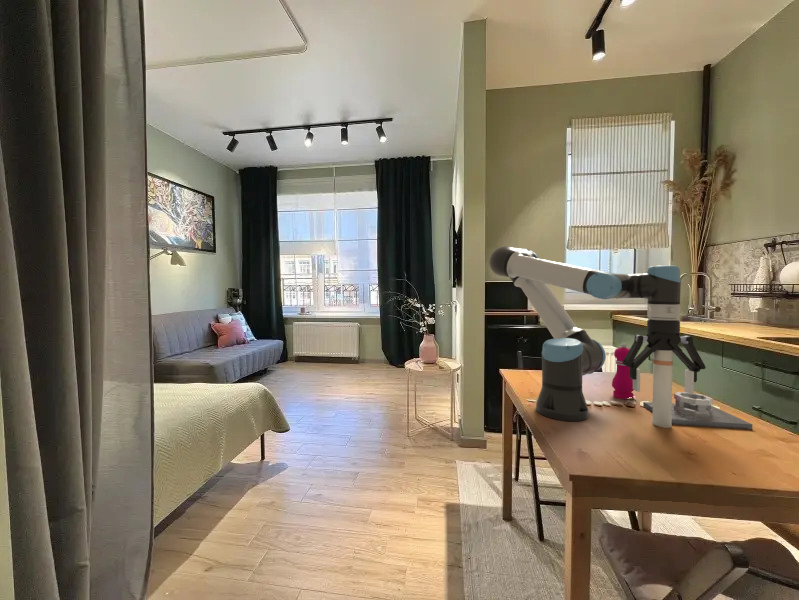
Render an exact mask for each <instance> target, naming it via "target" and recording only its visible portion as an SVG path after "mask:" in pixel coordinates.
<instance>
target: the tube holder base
mask: <svg viewBox="0 0 799 600" xmlns="http://www.w3.org/2000/svg"><path fill="white" fill-rule="evenodd" d="M673 398H674V400H675V403H672V425H676V426H691V427H692V426H693V427H694V426H695V427H708V428H721V429H724V428H725V429H737V430H750V429H752V430H753V424H752V423H750V422H749V421H747V420H744V419H741V418H740V417H737V416H735V415H733V414H732V413H729V412H727V411H724V410H722V409H721V408H720V409H719V408H717V407H716V406H713V404H714V403H713V402H714V399H713V398H712V397H710V396H709V395H708V396H707V395H705V394H700V393H695V392H694V394H689V393H686V392H684V391H677V392H675V393H674V394H673ZM642 403H643V408H645V409H646V410H648V411H650V412H652V413H653V401H652V402H650V401H643V402H642Z"/></svg>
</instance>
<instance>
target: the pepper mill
mask: <svg viewBox="0 0 799 600" xmlns="http://www.w3.org/2000/svg"><path fill="white" fill-rule="evenodd" d="M620 346H621V347H618V348H616V349H615V350H614V352H613V354H614V358H615V365H616V372H615V374H614V376H613V378H612V381H611V386H612V388H613V389H614V390H613V392H612V393H613V394H612V395H613V397H614V398H616V399H620V400H626V399H625V398H629V397H632V398H633V399H634V396H635V395H634V392H633V391H635V390H633V379H631V378H630V368H629V367H628V366H625V365H623V364H622V362H623V360H624V359H625V357H626V355H627V353H628V352H629V350H630V348H628V346H627V344H626V343H621V344H620Z"/></svg>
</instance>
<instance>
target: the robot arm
mask: <svg viewBox="0 0 799 600" xmlns="http://www.w3.org/2000/svg"><path fill="white" fill-rule="evenodd" d="M488 261H489V267H490V269H491V271H492V272H493V273H494V274H495V275H497V276H499V277H505V278H509V279H510V280H511V282H512V283H513V285H514V286H515V287H516V288H520V289H521V290H522V293H524V295H525V296H526V297H527V299H528V301H529V303H531V305H532V307H533V308H534V310H535V312H536V313H537V315H538V316H539V318H540V319H541V320H542V323H543V324H544V326H545V327H546V329H547V330H548V331H549V333H550V334H551V336H552V337H553V338H551V339H547V340H545V341H544V342H543V344H542V350H541V381H542V382H541V389H540V392H539V394H538V397H537V400H536V403H535V407H536V408H535V411H536V412H537V413H539V414H540V415H542V416H544V417H547V418H550V419H554V420H559V421H564V422H565V421H566V422H581V421H585V420H587V419H589V407H588V405H587V401H586V398H585V395H584V392H583V376H586V375H590V374H591V375H592V374H593V373H594V372H598V371H599V370H600V369H601V368H602V367H603V366H604V365H605V361H606V350H605V348H604V347H603V345H602V344H601V343H600V342H598V341H597V340H595V339H593V338H591V336H589V334H588V333H587V331H586V330H585V329H583V328H579V327H578V326H577V325H576V324H575V322H574V321H573V319H572V318H571V317H570V315H569V314H568V312H567V311H566V310H565V308H564V306H563V305H562V304H561V302H560V301H559V299H558V298H557V297H556V295H555V293H554V292H553V290H552V289H551V288H550V287H549V285H551V286H556V287H559V288H564V289H568V290H571V291H575V292H578V293H583V294H587V295H590V296H592V297H593V298H597V299H601V300H609V299H610V300H611V299H616V300H617V299H647V304H646V305H647V307H646V308H647V310H646V311H647V312H646V313H647V314H646V316H647V320H646V325H647V326H646V327H647V328H646V332H647V334H646V335H640V334H635V335H634V341H633V343H632V345H631V347H630V348H629V349H630V350H629V352H628V353H627V355H626V357H625V359H624V360H623V362H622V364H623V365H625V366H628V367H629V368H630V378H631V379H633V390H634V391H635V392H639V393H640V392H641V369H640V368H639V367H640V366H641V365H642V364H643V363H644V361H646V360H647V359H648V358H649V357H650V356H651V355H652V354H653V352H655V351H656V350H667V351H673V353H674V354H675V356H676V357H677V358H678V359H679V360H680V361H681V362H682V363H683V365H685V366H686V368H687V369H684V391H683V392H686V393H689V394H694V393H695V391H694V390H695V387H694V386H695V385H694V383H697V381H698V373H699V372H700V371H701V370H706V365H705V363H704V361H703V359H702V358H701V356H700V354H699V351H698V350H697V348H696V347H695V345H694V338H693V337H692V336H690V335H683V336H680V334H681V333H680V332H681V321H680V320H678V319H679V318H681V289H682V286H681V284H682V280H681V279H682V278H681V269H680V267H679V266H677V265H669V264H668V265H653V266H652V265H651V266H649V267H648V268H647V271H646V272H645V273H613V272H608V271H603V270H597V269H593V268H588V267H582V266H577V265H574V264H573V265H572V264H569V263H563V262H557V261H554V260H553V261H552V260H549V259H548V260H547V259H542V258H539V256H538V255H537V253H535V252H534V251H533V250H531V249H528V248H523V247H522V248H519V247H514V246H513V247H512V246H505V245H504V246H500V247H498V248H496V249H495V250H494V251H493V252H492V253H491V254H490V256H489V260H488ZM648 318H649V319H648ZM645 342H647V344H646V345H645V346H644V349H643V350H642V351H641V352H640V353H639V351H640V349H641V348H642V346H643V344H644V343H645ZM680 343H681V344H683V346H684V348H685V350H686V352H687V354H688V355H689V357H688V356H687V354H686V353H684V352H683V349H682V348H681V347H680V346H679V344H680ZM638 353H639V354H638Z"/></svg>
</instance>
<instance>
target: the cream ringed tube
mask: <svg viewBox="0 0 799 600" xmlns="http://www.w3.org/2000/svg"><path fill="white" fill-rule="evenodd" d="M673 353H674V352H673V351H667V350H656V351H655V352H653V353H652V354H653V355H652V356H653V357H652V364H653V365H652V402H653V412H652V425H653V426H656V427H659V428H663V429H669V428H672V425H673V424H672V404H673V362H674V361H673V359H674V358H673V355H674V354H673Z"/></svg>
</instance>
